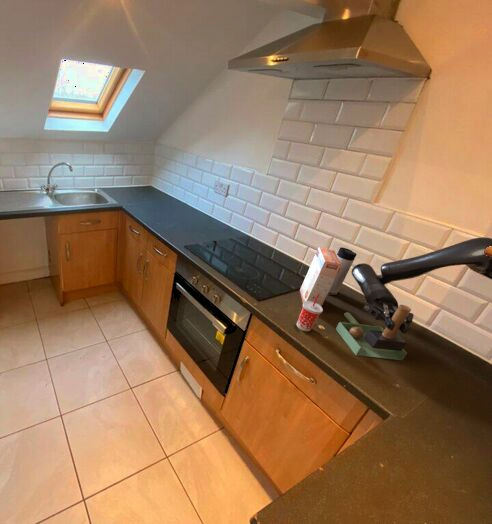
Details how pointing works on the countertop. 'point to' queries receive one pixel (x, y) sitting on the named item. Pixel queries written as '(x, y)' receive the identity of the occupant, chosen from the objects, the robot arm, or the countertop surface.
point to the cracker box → (320, 276)
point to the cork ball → (356, 332)
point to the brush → (389, 333)
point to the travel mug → (342, 268)
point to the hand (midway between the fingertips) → (399, 329)
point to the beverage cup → (309, 315)
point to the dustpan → (361, 344)
